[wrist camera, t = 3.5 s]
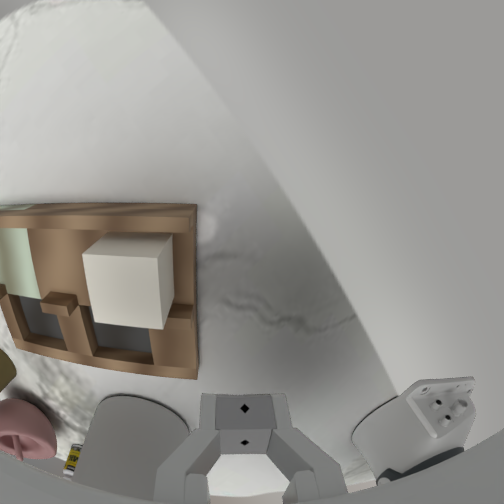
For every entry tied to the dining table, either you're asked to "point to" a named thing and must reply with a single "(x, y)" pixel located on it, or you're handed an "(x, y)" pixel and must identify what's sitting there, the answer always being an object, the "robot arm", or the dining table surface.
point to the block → (130, 278)
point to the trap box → (76, 291)
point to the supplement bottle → (72, 462)
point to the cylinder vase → (128, 446)
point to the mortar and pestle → (25, 431)
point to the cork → (6, 370)
